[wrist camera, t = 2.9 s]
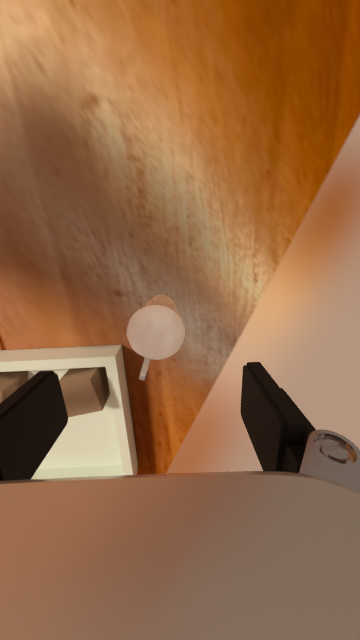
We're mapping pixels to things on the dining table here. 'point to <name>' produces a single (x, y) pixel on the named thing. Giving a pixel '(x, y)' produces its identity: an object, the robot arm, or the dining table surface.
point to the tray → (88, 429)
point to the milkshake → (156, 331)
